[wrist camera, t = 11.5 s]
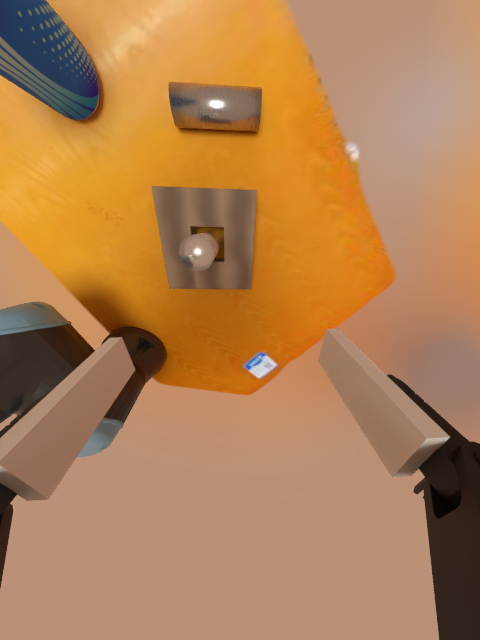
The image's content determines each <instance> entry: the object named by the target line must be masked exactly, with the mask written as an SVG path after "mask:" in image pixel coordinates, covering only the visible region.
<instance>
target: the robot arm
mask: <svg viewBox="0 0 480 640" xmlns="http://www.w3.org/2000/svg"><path fill="white" fill-rule="evenodd" d="M165 360H166V350H165V347H164V345H163V344H162V342H161V341H160V340H159V339H158V338H157V337H156V336H154V335H153V334H151V333H150V332H148V331H145V330H143V329H139V328H134V327H124V328H119V329H117V330H115V331H113V332H112V333H111V334H110V335H108V336H107V337H106V338H105V340H104V341H103V342H102V345H101V346H100V347H99V348H98V349H97V350H96V351H95V350H93V348H92V347H91V346H90V345H89V344H88V343H87V342H86V341H85V339H84V338H83V337H82V336H81V335H80V334H79V333H78V332H77V331H76V330H75V329H74V328H73V326H72V325H71V322H70V321H67V320H66V319H65V318H64V317H63V316H62V315H61V314H60V313H59V312H58V311H57V310H56V309H55V308H54V307H52V306H51V305H49V304H47V303H43V302H30V303H25V304H21V305H17V306H13V307H9V308H5V309H1V310H0V423H1V422H3V421H4V420H5V419H7V418H8V417H10V416H11V415H13V414H16V415H17V416H18V417H16V418H15V419H14V420H13V421H12V422H11V423H10V425H8V426H6V427H5V428H4V429H3V430H1V431H0V587H1V581H2V575H3V569H4V563H5V557H6V551H7V545H8V539H9V533H10V527H11V521H12V515H13V506H12V505H11V504H10V502H11V501H12V500H13V499H14V497H15V496H16V495H19V496H21V497H22V498H24V499H26V500H27V501H30V500H45V499H49V498H50V496H51V495H52V493H53V492H54V490H55V489H56V487H57V486H58V484H59V483H60V481H61V480H62V478H63V477H64V475H65V474H66V472H67V471H68V469H69V468H70V466H71V465H72V463H73V462H74V460H75V459H76V458H77V457H84V456H90V455H94V454H97V453H99V452H101V451H103V450H105V449H106V448H107V447H108V446H109V445H110V444H111V443H112V441H113V439H114V438H115V436H116V435H117V433H118V431H119V430H120V429H121V428H122V427H123V424H124V422H125V420H126V418H127V416H128V415H129V413H130V411H131V409H132V407H133V405H134V403H135V401H136V400H137V398H138V396H139V394H140V392H141V390H142V388H143V387H144V385H145V383H146V382H147V381H148V380H149V379H150V378H152V377H153V376H154V375H155V374H156V373H158V372H159V371H160V369H161V368H162V366H163V364H164V362H165ZM318 362H319V363H320V365H321V366H322V368H323V369H324V371H325V373H326V374H327V376H328V377H329V379H330V380H331V382H332V384H333V385H334V387H335V388H336V390H337V391H338V393H339V395H340V396H341V398H342V399H343V401H344V402H345V404H346V406H347V407H348V409H349V410H350V412H351V413H352V415H353V416H354V418H355V419H356V421H357V422H358V424H359V426H360V427H361V429H362V431H363V432H364V434H365V435H366V437H367V438H368V440H369V442H370V443H371V445H372V446H373V448H374V449H375V451H376V453H377V454H378V455H379V457H380V459H381V460H382V462H383V464H384V465H385V467H386V468H387V470H388V471H389V473H390V474H391V476H392V477H404V476H412V475H413V474H414V473H415V472H416V471H417V470H418V469H420V471H421V472H422V473H423V474H424V476H425V478H424V479H423V480H422V481H421V482H419V483H418V484H417V485H416V486H415V488H414V493H416V494H418V493H420V492H421V491H422V490H424V496H423V498H424V500H425V509H426V518H427V528H428V537H429V546H430V556H431V565H432V575H433V583H434V593H435V603H436V613H437V622H438V631H439V640H480V444H479V443H476V442H470V441H468V440H467V439H466V438H465V437H463V436H462V435H461V434H460V433H459V432H458V431H457V430H456V429H455V428H453V427H452V426H451V425H450V424H449V423H448V422H447V421H446V420H445V419H444V418H442V417H441V416H440V415H439V414H438V413H437V412H436V411H435V410H434V409H432V407H430V406H429V405H428V404H427V403H425V402H424V400H423V399H422V398H421V397H419V396H418V395H417V394H415V392H414V391H413V390H411V388H409V387H408V386H407V385H406V384H405V383H404V382H402V381H401V380H399V379H397V378H395V377H394V376H393V375H386V374H385V373H383V372H382V371H381V370H380V369H379V368H378V367H377V366H376V365H375V364H374V363H373V362H372V361H371V360H370V359H369V358H368V357H367V356H366V355H365V354H364V353H363V352H362V351H361V350H360V349H359V348H358V347H357V346H356V345H355V344H354V343H352V342H351V341H350V340H349V339H348V338H347V337H346V336H345V335H344V334H343V333H342V332H341V331H340V330H339V329H326V333H325V337H324V341H323V344H322V348H321V352H320V356H319V360H318Z"/></svg>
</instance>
